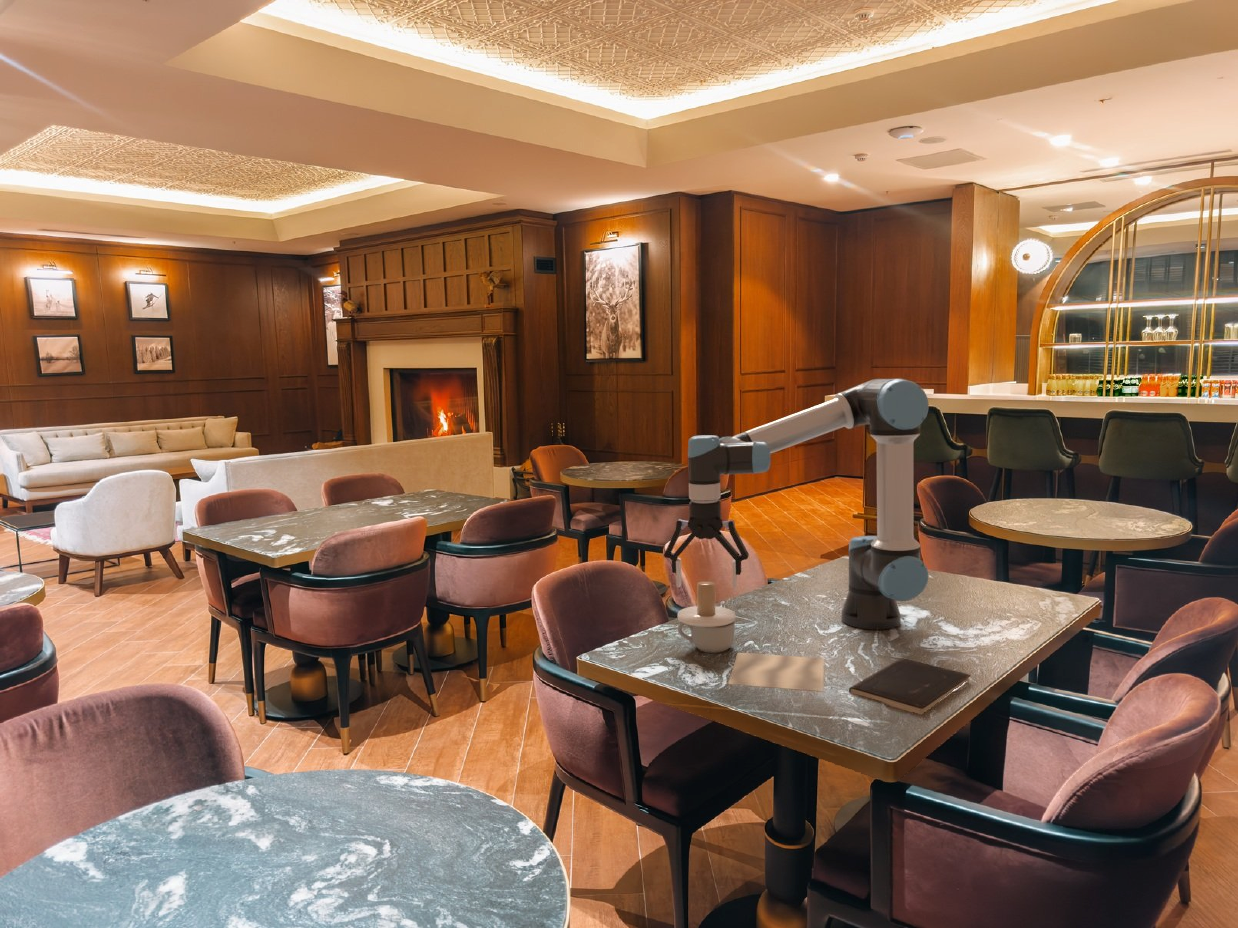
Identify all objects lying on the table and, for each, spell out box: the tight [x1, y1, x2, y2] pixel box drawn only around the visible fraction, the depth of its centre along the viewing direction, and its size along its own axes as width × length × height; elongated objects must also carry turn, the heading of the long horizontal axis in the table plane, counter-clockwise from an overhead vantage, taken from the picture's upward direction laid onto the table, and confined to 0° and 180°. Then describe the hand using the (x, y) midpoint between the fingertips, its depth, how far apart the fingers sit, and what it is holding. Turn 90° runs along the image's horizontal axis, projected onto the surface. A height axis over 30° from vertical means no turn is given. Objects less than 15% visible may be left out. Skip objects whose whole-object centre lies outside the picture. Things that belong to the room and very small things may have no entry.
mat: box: [727, 652, 825, 692], centre depth 185 cm, size 20×20×1 cm
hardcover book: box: [848, 657, 971, 715], centre depth 175 cm, size 16×23×2 cm
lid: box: [677, 581, 736, 627], centre depth 199 cm, size 14×14×8 cm
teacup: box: [677, 620, 736, 654], centre depth 200 cm, size 14×11×8 cm
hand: (706, 586), depth 199 cm, fingers open, 13 cm apart
